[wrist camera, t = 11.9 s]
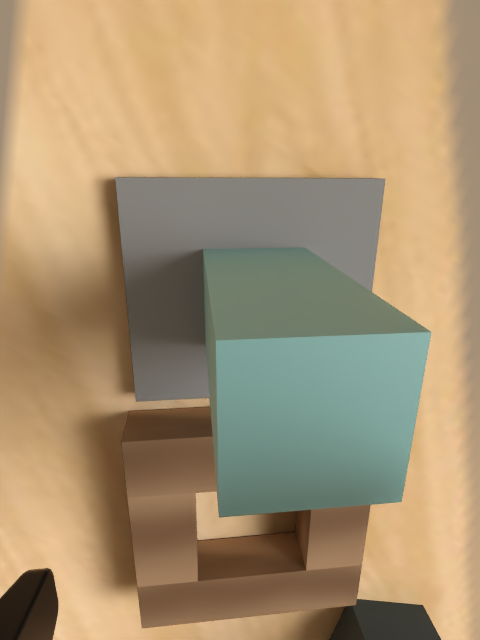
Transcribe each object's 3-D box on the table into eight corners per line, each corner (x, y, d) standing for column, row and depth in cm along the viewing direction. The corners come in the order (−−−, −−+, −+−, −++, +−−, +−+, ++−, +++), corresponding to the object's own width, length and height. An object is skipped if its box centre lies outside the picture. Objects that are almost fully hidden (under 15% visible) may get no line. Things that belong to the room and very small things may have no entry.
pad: (354, 382, 21) (360, 390, 20) (137, 392, 20) (135, 401, 19) (377, 178, 18) (385, 178, 17) (118, 177, 17) (115, 177, 16)
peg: (299, 341, 19) (401, 502, 10) (205, 344, 19) (218, 517, 9) (304, 247, 18) (431, 331, 8) (202, 249, 17) (215, 340, 8)
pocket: (341, 565, 26) (355, 604, 23) (146, 584, 24) (141, 628, 22) (361, 398, 22) (381, 426, 19) (129, 411, 20) (121, 442, 18)
